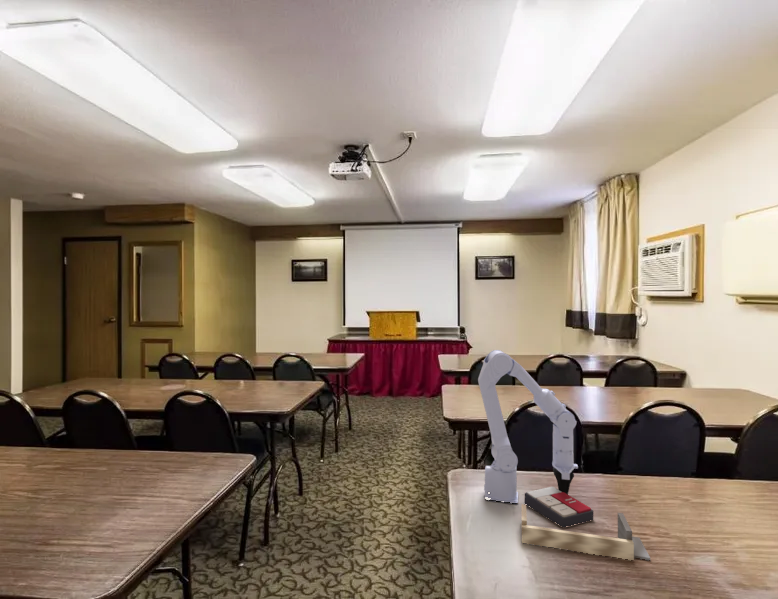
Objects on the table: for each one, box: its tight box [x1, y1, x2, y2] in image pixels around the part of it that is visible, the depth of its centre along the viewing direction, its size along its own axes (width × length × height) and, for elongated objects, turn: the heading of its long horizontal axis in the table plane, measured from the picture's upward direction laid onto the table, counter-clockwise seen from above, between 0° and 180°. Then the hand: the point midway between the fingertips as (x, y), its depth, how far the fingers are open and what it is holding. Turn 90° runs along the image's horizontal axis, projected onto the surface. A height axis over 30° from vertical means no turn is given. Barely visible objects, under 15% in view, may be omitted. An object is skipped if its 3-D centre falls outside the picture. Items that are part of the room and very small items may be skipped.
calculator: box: [523, 486, 594, 528], centre depth 118 cm, size 11×4×15 cm
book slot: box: [520, 503, 651, 561], centre depth 103 cm, size 28×10×6 cm, turn 73°
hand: (563, 494), depth 126 cm, fingers closed
